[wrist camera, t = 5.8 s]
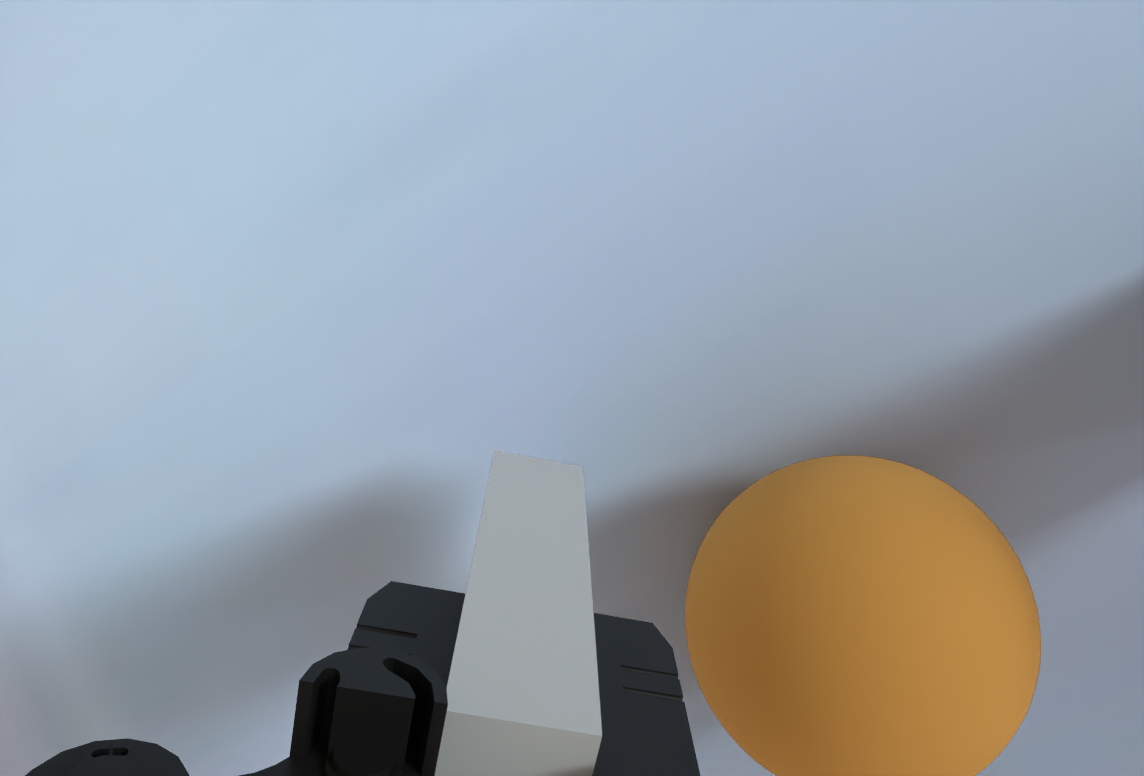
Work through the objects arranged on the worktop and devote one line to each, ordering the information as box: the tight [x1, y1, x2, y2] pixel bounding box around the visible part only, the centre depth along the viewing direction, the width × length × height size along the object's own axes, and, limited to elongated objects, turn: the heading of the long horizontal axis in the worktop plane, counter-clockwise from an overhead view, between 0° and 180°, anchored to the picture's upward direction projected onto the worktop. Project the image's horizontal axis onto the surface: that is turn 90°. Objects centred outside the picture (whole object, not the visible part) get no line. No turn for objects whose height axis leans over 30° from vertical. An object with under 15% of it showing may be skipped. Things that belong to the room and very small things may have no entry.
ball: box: [685, 455, 1041, 776], centre depth 14 cm, size 6×6×6 cm
